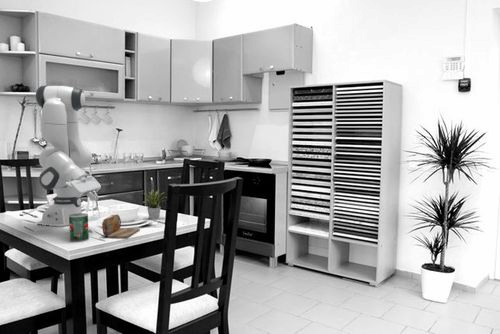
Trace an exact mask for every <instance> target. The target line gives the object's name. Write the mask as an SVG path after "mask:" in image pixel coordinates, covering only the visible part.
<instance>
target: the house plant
mask: <svg viewBox="0 0 500 334" xmlns="http://www.w3.org/2000/svg"><path fill="white" fill-rule="evenodd" d="M159 191H160V190H156V191H155V192H154V188H153V189H152V194H151V192H148V194H149V195H148V194H147V190H146V191H145V192H143V193H142V192H141V194H143V195H144V196H145V197H146V199H145V201H143V202H142V203H143V205H145V204H148V205H149V206H147V207H146V209H147V214H148V218H150V219H149V220H158V219H160V215H161V214H160V213H161V206H159V204H160V203H161V201H162V200H163V199H166V198H168V197H167V196H163V197H161V196H162V194H165V192H162V194H158V193H159Z"/></svg>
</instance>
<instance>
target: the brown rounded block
mask: <svg viewBox="0 0 500 334" xmlns="http://www.w3.org/2000/svg"><path fill="white" fill-rule="evenodd" d="M101 226H102V227H101V228H102V233H103V235H104V236H105V237H108V236H109V235H110V234H112V233H114V232H116V231H118V230H119V229H121V226H122V221H121V217H120V215H119V214H112V215H110V216H108V217H106V218H104V219H103V221H102V225H101Z"/></svg>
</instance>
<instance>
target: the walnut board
mask: <svg viewBox="0 0 500 334" xmlns="http://www.w3.org/2000/svg"><path fill="white" fill-rule="evenodd" d="M140 229H141V228H135V227H134V228H130V227H122V228H121V227H120V229H119V230H118V231H116V232H114V233H112V234H110V235H109V236H107V239H123V240H124V239H125V240H126V239H129V238H131V236H133V235H136V234H137V233H138V232H140Z"/></svg>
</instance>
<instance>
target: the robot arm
mask: <svg viewBox="0 0 500 334" xmlns="http://www.w3.org/2000/svg"><path fill="white" fill-rule="evenodd" d="M35 100H36V103H37V105H38V106H39V107H40V108H41V109H42V110H41V115H40V117H41V118H40V132H41V137H42V138H43V139H44V141H45V142H47V143H49V144H51V146H52V147H54V148H49V149H44V150H42V151H41V153H40V154H39V157H38V161H39V165H40V167H41V168H42V172H41V173H40V174H39V177H38V182H39V185H40V186H41V188H43V189H44V190H46V191H47V190H48V191H50V190H51V191H52V190H56V191H55V192H56V196H54V197H52V198H51V201H53V203H52V205H50V206H49V207H48V208H46V209H45V210H44V211H43V213H42V218H41V220H39V221H38V222H37V224H42V225H41V226H46V225H49V227H59V228H60V227H67V226H69V215H72V214H78V213H82V207H81V205H82V200H81V199H82V197H84V196H87V197H88V198H89V199H91V200H92V201H93V202H95V201H97V200H99V199H100V196H99V195H98V194H97V192H99V190H100V189H102V185H101V184H100V182H99V181H98V180H97V179H96V178H95V177H94V176H92V173H91V172H90V171H88V170H84V168H87V167H90V166H91V165H92V162H93V153H92V151H91V150H90V149H89V148H87V147H86V146H85V145H84V143H82V140H81V138H80V132H79V113H78V111H79V110H81V109H82V108H83V107H84V105H85V103H86V102H85V101H86V95H85V92H84V91H83V89H82V88H79V87H75V86H74V87H72V86H66V85H40V86H39V87H38V88H37V90H36V91H35Z"/></svg>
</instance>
